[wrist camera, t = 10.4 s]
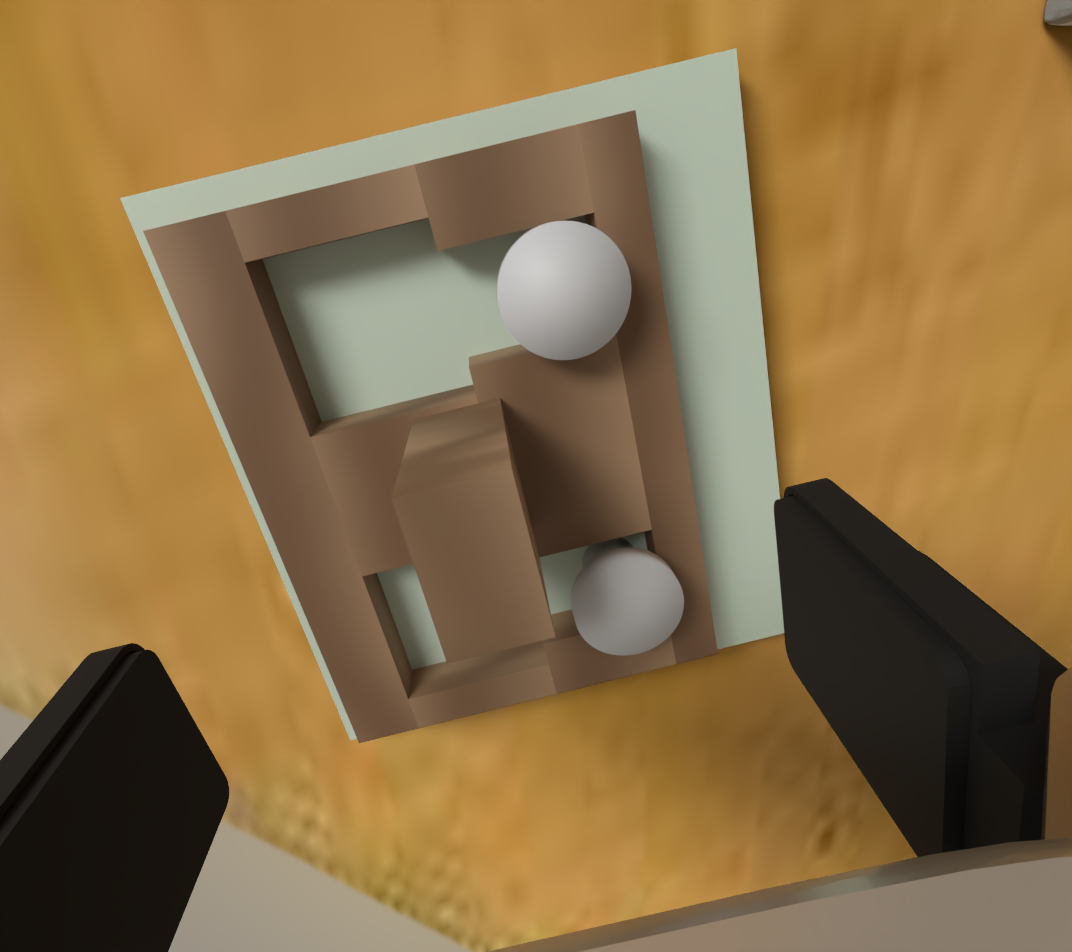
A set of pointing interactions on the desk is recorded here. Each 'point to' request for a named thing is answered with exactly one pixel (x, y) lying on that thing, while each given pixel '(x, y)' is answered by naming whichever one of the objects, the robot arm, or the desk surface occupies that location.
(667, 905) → the desk surface
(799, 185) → the desk surface
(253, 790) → the desk surface
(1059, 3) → the hard drive box
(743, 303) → the board
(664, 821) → the desk surface
